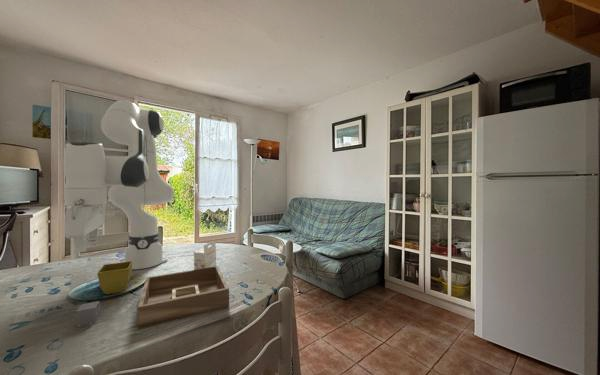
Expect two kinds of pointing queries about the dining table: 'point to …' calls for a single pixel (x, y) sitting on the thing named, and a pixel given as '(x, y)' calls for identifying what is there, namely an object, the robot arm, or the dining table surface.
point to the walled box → (182, 296)
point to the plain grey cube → (88, 313)
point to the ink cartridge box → (205, 256)
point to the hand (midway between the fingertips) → (87, 247)
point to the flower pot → (114, 277)
